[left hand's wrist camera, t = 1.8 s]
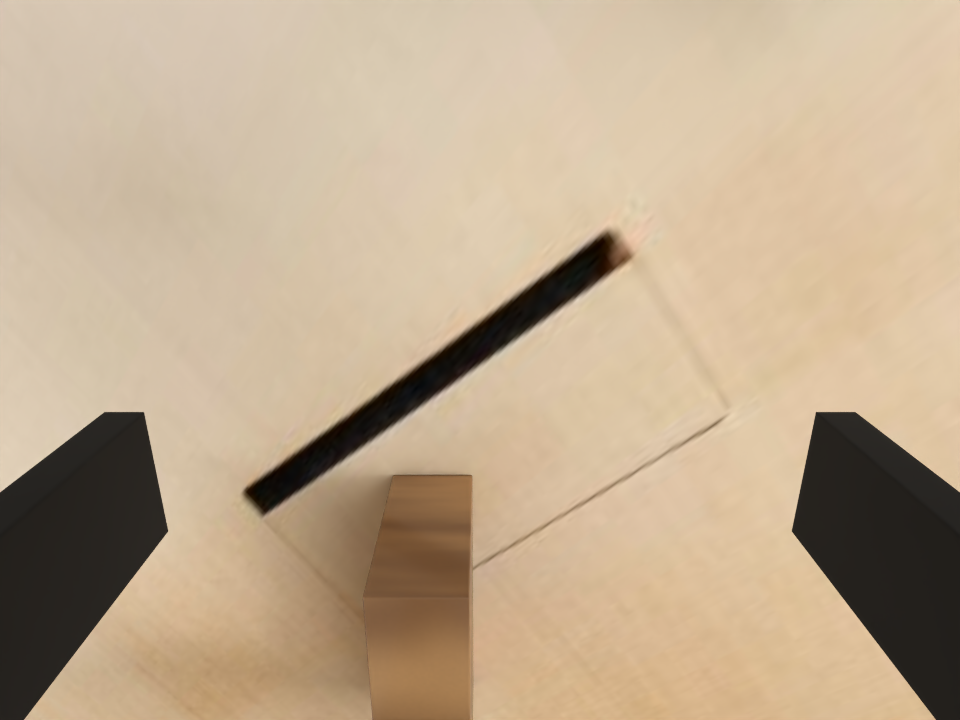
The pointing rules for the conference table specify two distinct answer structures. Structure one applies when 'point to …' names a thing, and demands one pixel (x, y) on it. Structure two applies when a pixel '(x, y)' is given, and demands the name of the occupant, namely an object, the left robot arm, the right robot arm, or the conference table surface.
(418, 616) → the box
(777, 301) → the conference table surface
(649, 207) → the conference table surface
